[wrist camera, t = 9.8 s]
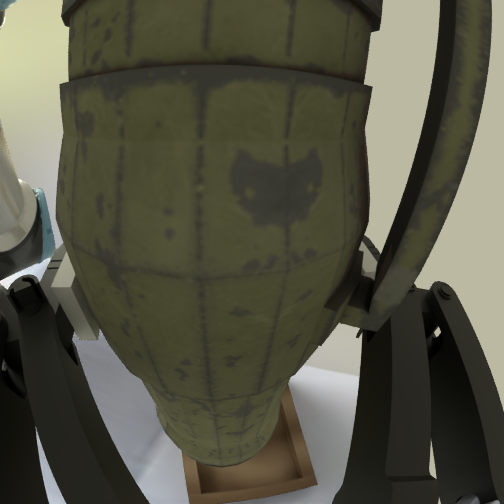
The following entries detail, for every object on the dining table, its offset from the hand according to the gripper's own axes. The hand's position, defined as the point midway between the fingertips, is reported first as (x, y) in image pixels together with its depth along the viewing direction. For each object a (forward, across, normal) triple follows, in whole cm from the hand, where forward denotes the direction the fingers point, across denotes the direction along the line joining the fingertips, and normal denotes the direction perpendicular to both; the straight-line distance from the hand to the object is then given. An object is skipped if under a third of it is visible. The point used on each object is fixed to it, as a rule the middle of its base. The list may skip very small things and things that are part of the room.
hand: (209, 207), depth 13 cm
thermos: (-5, 0, -19) cm, 20 cm away
